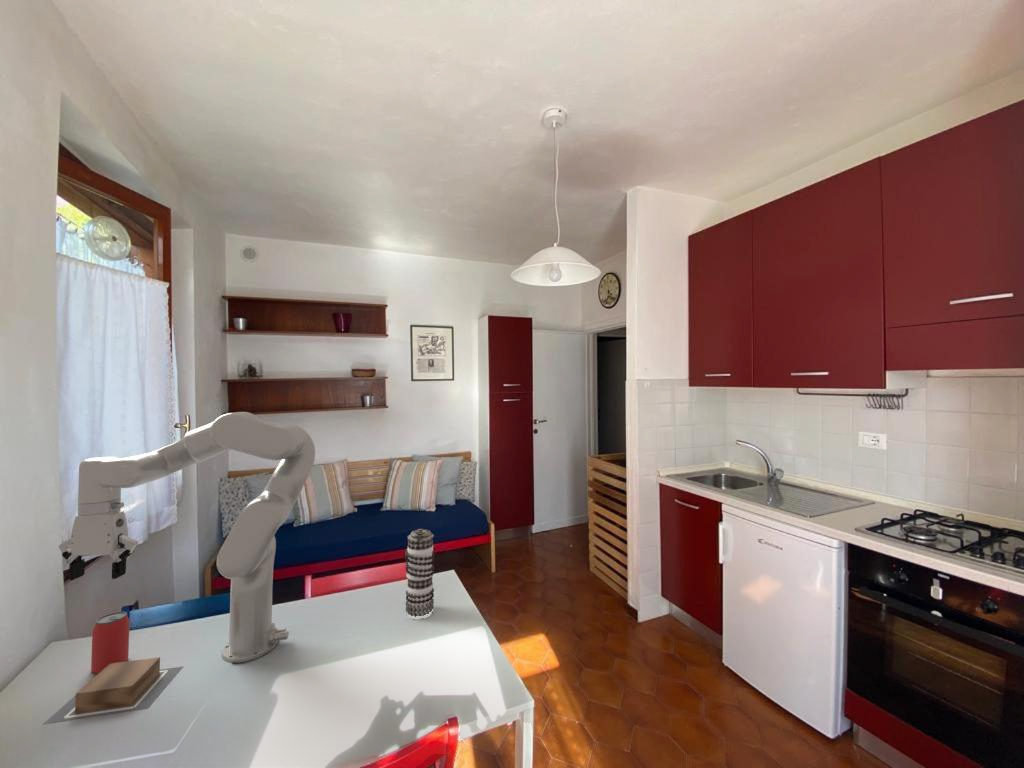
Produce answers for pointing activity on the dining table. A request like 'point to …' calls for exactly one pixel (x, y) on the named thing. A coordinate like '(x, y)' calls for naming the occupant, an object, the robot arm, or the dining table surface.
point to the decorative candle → (420, 572)
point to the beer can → (110, 640)
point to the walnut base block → (117, 685)
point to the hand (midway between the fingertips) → (97, 577)
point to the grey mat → (141, 703)
